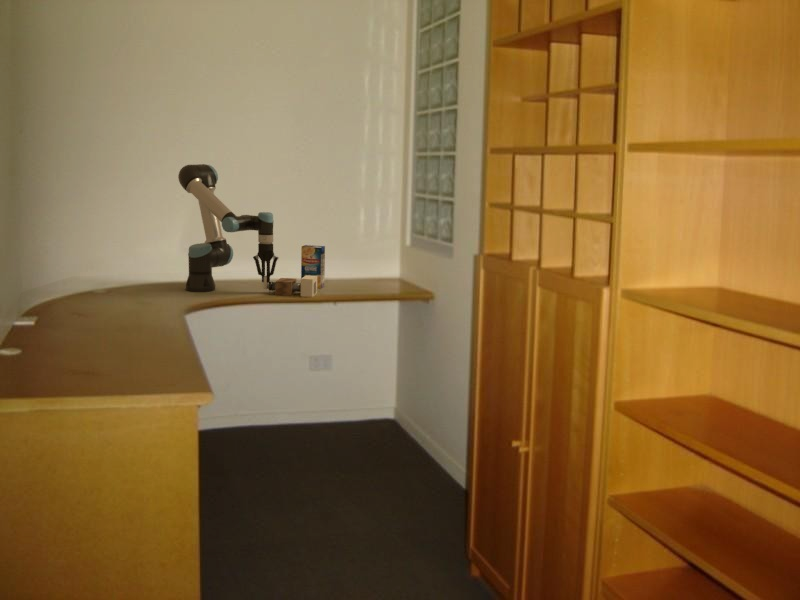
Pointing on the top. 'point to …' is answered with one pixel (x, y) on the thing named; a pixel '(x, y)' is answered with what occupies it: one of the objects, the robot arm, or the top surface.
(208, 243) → the robot arm
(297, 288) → the tube
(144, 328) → the top surface
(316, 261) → the beverage box
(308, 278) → the socket
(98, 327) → the top surface
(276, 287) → the sleeve
